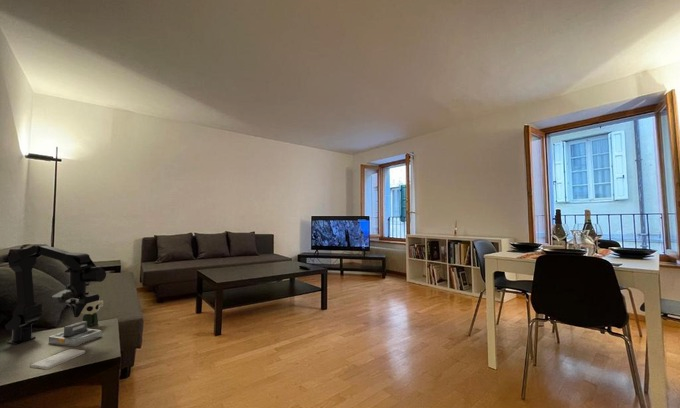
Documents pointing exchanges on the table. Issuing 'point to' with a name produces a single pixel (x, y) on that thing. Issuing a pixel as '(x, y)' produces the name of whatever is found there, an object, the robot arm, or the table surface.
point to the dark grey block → (75, 329)
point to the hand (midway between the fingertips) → (76, 317)
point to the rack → (75, 338)
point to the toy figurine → (91, 312)
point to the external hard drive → (57, 359)
